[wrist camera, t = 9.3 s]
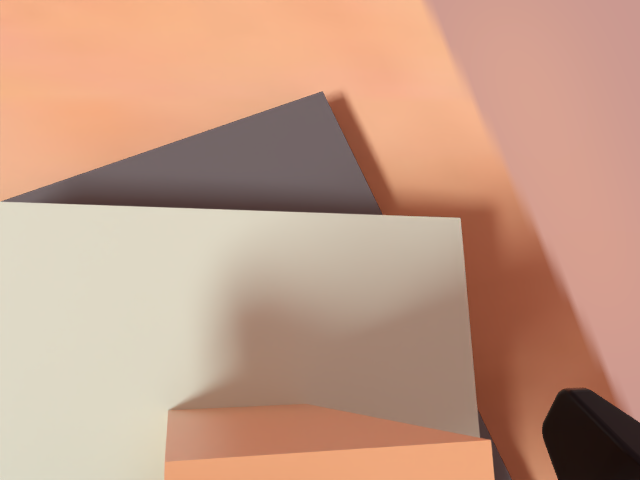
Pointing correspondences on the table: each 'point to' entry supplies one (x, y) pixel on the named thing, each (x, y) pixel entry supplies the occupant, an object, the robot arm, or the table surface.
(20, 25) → the table surface
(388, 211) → the table surface
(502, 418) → the table surface
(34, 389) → the lid
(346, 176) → the mat
